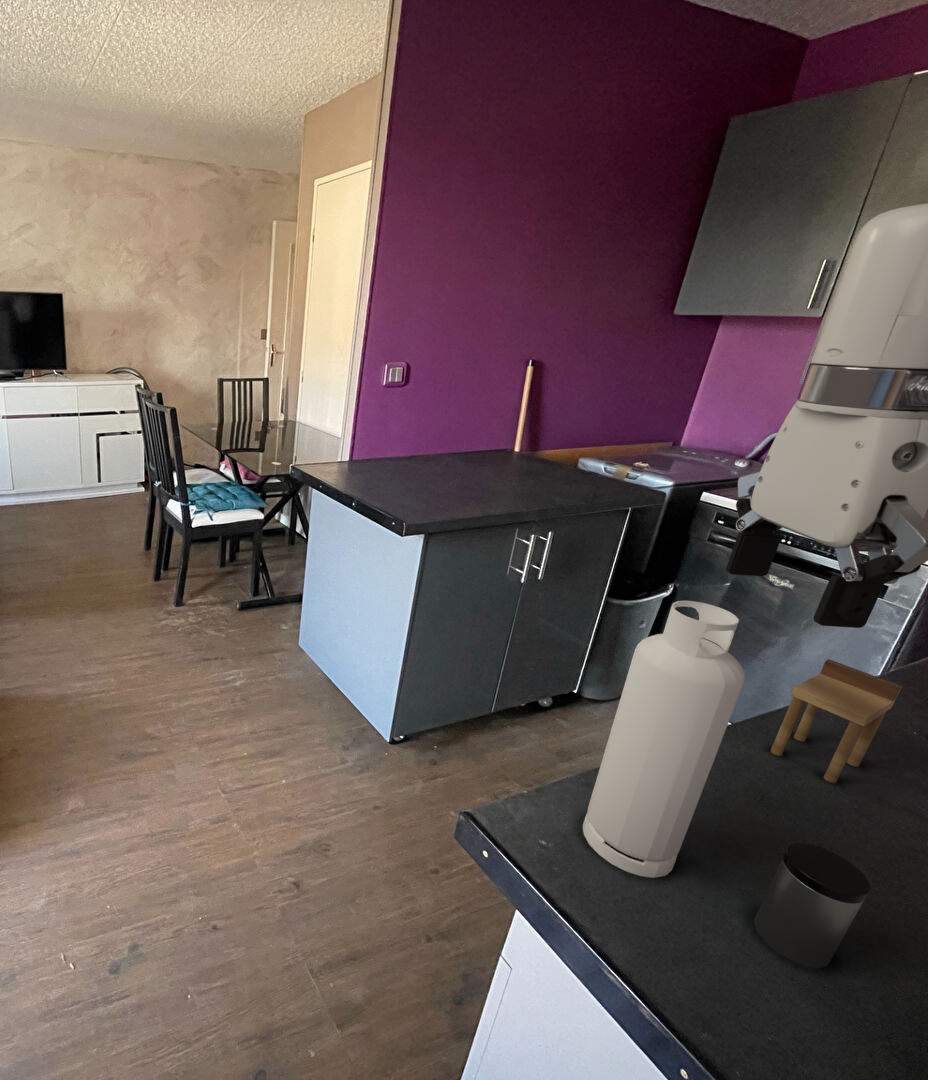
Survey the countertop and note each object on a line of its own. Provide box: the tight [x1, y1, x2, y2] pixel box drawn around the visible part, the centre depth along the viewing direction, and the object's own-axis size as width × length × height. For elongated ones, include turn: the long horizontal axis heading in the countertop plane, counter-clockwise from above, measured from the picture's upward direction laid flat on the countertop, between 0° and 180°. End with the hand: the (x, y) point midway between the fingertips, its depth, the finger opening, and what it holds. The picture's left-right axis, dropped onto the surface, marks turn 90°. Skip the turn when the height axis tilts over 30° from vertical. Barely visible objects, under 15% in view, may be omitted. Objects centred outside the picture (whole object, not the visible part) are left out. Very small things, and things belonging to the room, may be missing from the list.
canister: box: [753, 842, 872, 969], centre depth 51 cm, size 5×5×9 cm
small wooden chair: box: [770, 658, 903, 784], centre depth 72 cm, size 8×7×12 cm
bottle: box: [582, 600, 746, 878], centre depth 57 cm, size 8×8×28 cm
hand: (787, 597), depth 49 cm, fingers open, 9 cm apart
